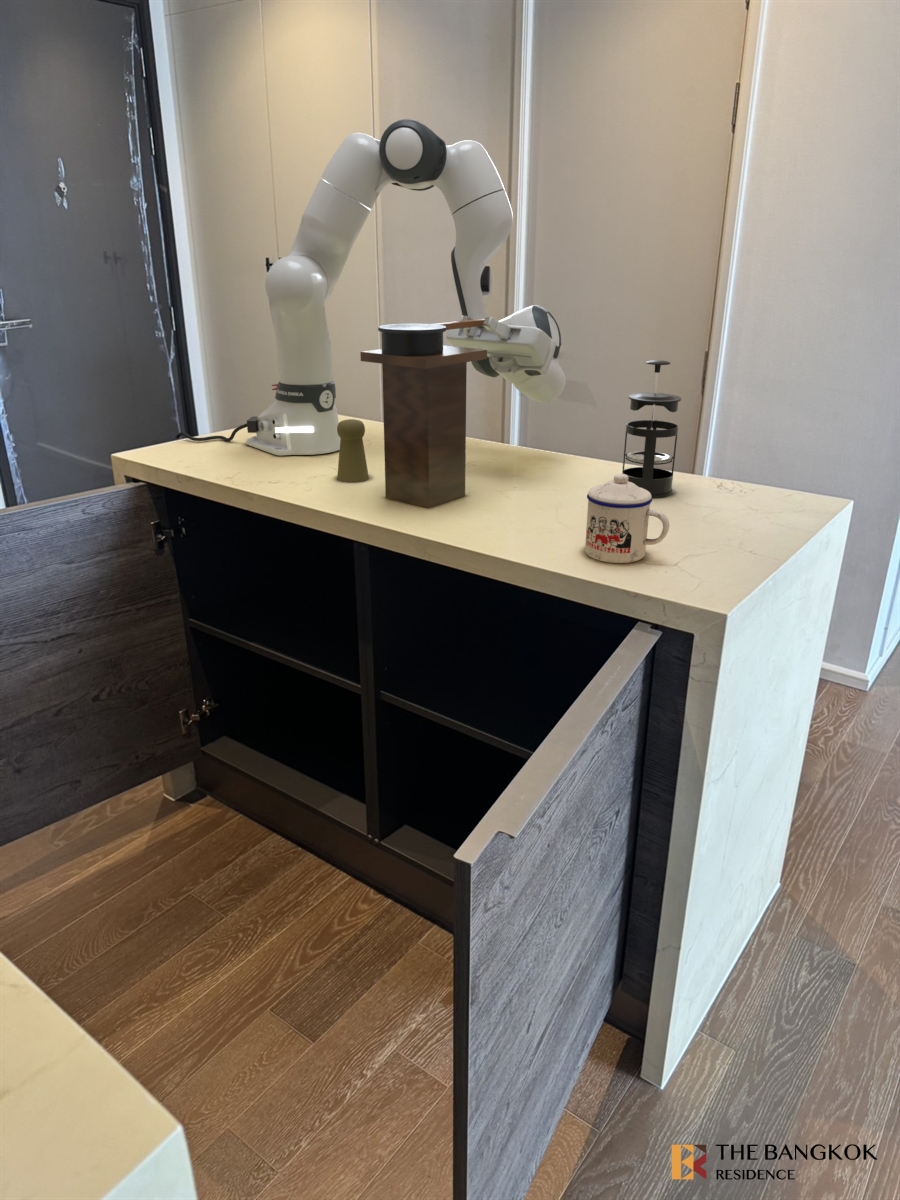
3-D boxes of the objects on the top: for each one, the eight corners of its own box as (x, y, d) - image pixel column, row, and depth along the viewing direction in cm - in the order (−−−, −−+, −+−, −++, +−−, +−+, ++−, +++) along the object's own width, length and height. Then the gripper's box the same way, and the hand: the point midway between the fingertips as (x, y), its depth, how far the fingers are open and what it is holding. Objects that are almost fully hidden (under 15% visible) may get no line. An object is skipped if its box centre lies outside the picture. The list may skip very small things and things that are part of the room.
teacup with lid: (573, 557, 124) (578, 477, 119) (597, 539, 131) (602, 464, 126) (654, 572, 118) (662, 490, 113) (674, 553, 125) (683, 475, 121)
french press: (673, 500, 151) (687, 365, 142) (618, 497, 152) (629, 363, 144) (671, 483, 161) (685, 356, 152) (620, 480, 163) (631, 355, 154)
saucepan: (364, 352, 140) (363, 326, 138) (460, 340, 158) (460, 317, 156) (415, 358, 133) (415, 331, 132) (509, 344, 151) (510, 320, 150)
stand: (365, 499, 151) (360, 351, 141) (424, 481, 162) (423, 343, 152) (426, 514, 142) (425, 358, 133) (484, 494, 154) (487, 349, 144)
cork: (367, 482, 161) (365, 423, 157) (335, 482, 161) (332, 423, 157) (370, 474, 167) (368, 417, 163) (339, 474, 167) (336, 417, 163)
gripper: (474, 335, 168) (435, 300, 157) (564, 342, 156) (528, 306, 145) (464, 365, 168) (424, 333, 157) (553, 375, 156) (516, 341, 145)
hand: (475, 320), depth 151 cm, fingers open, 4 cm apart
